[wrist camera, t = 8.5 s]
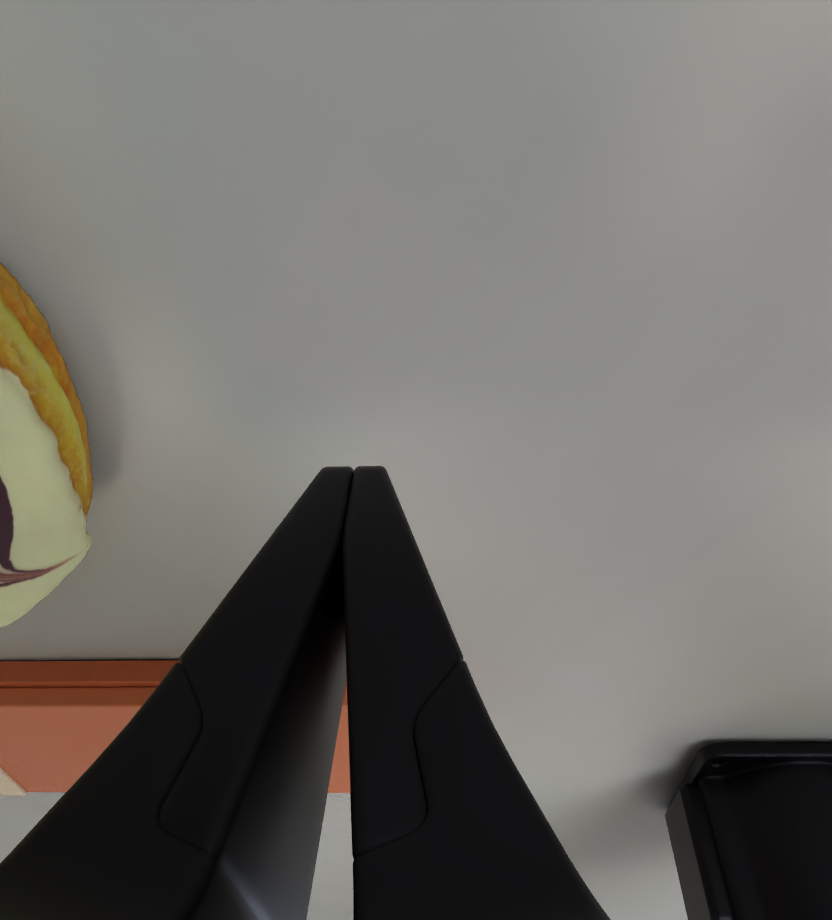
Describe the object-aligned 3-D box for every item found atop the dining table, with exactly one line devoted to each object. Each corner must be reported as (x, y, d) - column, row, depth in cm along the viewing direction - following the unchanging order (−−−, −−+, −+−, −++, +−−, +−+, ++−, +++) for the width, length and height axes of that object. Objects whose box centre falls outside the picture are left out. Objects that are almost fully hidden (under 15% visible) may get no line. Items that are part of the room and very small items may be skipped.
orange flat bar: (390, 658, 20) (388, 705, 19) (402, 756, 24) (401, 799, 23) (-95, 661, 21) (-122, 706, 20) (3, 756, 25) (-15, 797, 24)
